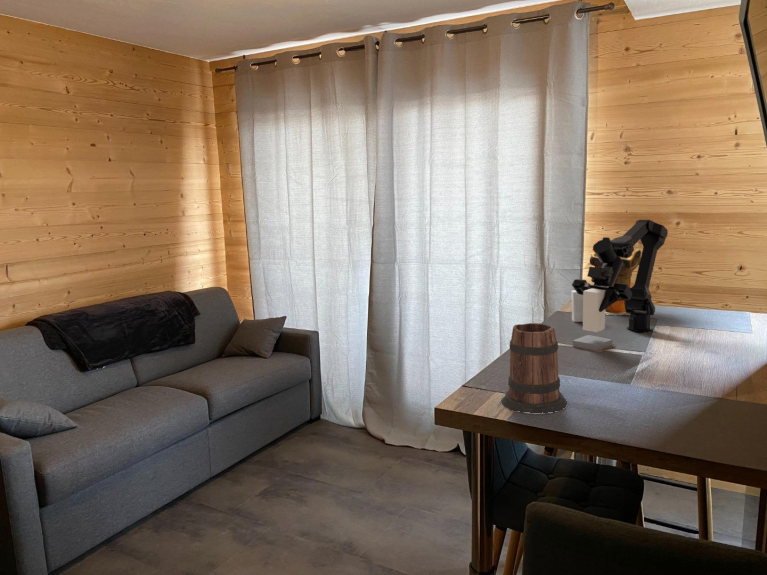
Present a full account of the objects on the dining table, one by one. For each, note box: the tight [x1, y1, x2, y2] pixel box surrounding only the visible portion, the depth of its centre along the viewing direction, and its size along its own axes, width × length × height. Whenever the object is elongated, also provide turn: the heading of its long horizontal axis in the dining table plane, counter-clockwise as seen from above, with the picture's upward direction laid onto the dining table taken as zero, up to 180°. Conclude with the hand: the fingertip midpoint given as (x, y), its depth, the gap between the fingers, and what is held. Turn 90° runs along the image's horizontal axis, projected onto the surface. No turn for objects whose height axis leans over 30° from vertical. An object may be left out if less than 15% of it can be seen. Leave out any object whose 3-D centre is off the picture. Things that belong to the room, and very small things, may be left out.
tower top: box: [572, 334, 613, 352], centre depth 200 cm, size 9×9×2 cm
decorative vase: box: [589, 248, 642, 316], centre depth 250 cm, size 21×23×28 cm
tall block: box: [582, 288, 606, 333], centre depth 198 cm, size 5×5×13 cm
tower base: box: [569, 343, 617, 353], centre depth 200 cm, size 11×11×2 cm
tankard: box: [500, 322, 568, 413], centre depth 158 cm, size 24×17×20 cm
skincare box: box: [571, 289, 583, 323], centre depth 238 cm, size 6×4×12 cm
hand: (591, 310), depth 197 cm, fingers closed on tall block, 5 cm apart
